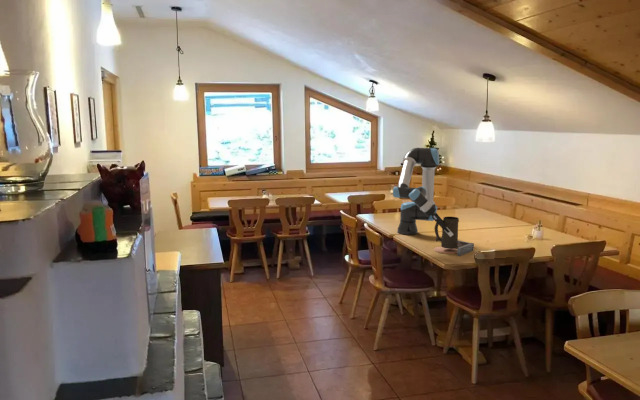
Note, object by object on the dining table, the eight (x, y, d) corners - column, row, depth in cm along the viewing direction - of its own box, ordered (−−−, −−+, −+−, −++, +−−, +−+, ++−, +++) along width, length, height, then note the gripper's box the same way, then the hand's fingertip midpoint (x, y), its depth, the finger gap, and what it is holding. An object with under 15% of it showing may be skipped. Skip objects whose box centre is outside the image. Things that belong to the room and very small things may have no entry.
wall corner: (445, 244, 349) (445, 237, 348) (473, 250, 334) (473, 243, 333) (431, 249, 336) (431, 242, 335) (459, 256, 321) (460, 248, 321)
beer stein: (456, 245, 338) (456, 215, 335) (461, 248, 327) (460, 218, 324) (433, 246, 338) (433, 216, 335) (437, 250, 327) (436, 219, 324)
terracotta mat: (441, 246, 345) (441, 245, 345) (462, 250, 334) (462, 250, 334) (428, 250, 334) (428, 249, 333) (450, 255, 323) (450, 254, 323)
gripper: (423, 209, 343) (446, 233, 343) (424, 215, 322) (448, 241, 321) (432, 202, 341) (454, 226, 341) (433, 207, 320) (457, 233, 319)
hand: (451, 233), depth 331 cm, fingers closed on beer stein, 9 cm apart
